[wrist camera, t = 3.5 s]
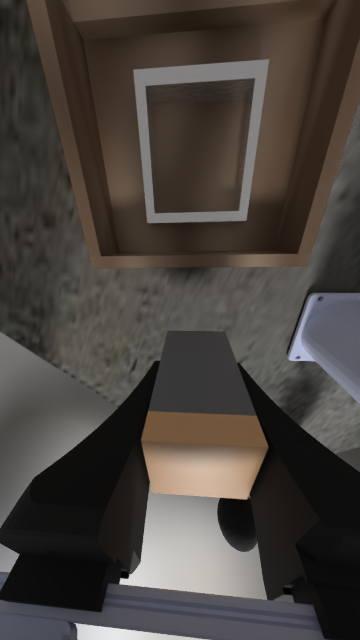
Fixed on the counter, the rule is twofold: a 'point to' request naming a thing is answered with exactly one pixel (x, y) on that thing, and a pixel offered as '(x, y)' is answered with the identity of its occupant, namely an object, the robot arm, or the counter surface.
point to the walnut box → (201, 123)
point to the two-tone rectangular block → (201, 421)
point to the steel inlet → (194, 88)
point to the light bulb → (237, 523)
